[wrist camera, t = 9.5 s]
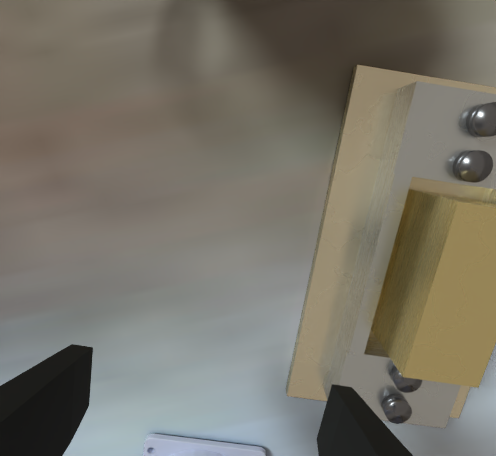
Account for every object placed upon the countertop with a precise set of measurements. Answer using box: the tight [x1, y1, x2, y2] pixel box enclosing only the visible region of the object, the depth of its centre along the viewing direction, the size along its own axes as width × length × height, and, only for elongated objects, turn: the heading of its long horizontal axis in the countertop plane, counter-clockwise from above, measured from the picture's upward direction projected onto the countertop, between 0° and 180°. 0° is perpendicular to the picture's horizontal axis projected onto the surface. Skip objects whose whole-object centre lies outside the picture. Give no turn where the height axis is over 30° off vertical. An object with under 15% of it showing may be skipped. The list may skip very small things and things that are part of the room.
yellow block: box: [371, 189, 496, 387], centre depth 16 cm, size 8×4×4 cm, turn 171°
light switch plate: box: [286, 65, 496, 428], centre depth 17 cm, size 19×11×3 cm, turn 172°
